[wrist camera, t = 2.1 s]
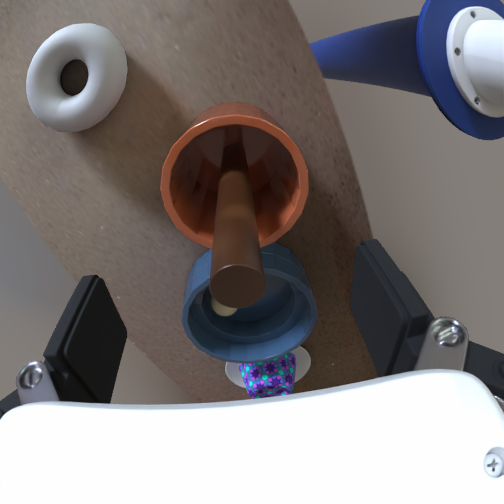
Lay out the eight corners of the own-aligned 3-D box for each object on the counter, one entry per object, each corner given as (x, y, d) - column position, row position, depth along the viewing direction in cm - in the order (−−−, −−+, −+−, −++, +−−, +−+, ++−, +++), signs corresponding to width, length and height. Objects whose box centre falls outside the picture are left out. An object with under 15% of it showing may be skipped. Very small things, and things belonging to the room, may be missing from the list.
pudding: (260, 394, 47) (262, 422, 43) (207, 362, 42) (206, 393, 37) (324, 363, 43) (332, 391, 39) (277, 322, 38) (283, 355, 34)
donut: (136, 17, 19) (39, 37, 18) (124, 11, 16) (19, 36, 15) (132, 124, 25) (40, 133, 24) (120, 131, 22) (22, 142, 21)
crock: (281, 96, 24) (304, 108, 17) (289, 194, 29) (310, 244, 22) (173, 111, 24) (147, 129, 17) (191, 206, 29) (178, 260, 22)
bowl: (305, 228, 31) (318, 258, 26) (306, 321, 38) (315, 355, 34) (175, 244, 31) (166, 276, 27) (201, 333, 38) (198, 368, 34)
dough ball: (236, 280, 34) (237, 299, 31) (240, 301, 35) (241, 320, 33) (209, 283, 34) (207, 302, 31) (214, 304, 35) (213, 323, 33)
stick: (244, 141, 26) (263, 261, 11) (246, 163, 27) (267, 305, 12) (220, 144, 26) (204, 268, 11) (224, 166, 27) (214, 311, 12)
